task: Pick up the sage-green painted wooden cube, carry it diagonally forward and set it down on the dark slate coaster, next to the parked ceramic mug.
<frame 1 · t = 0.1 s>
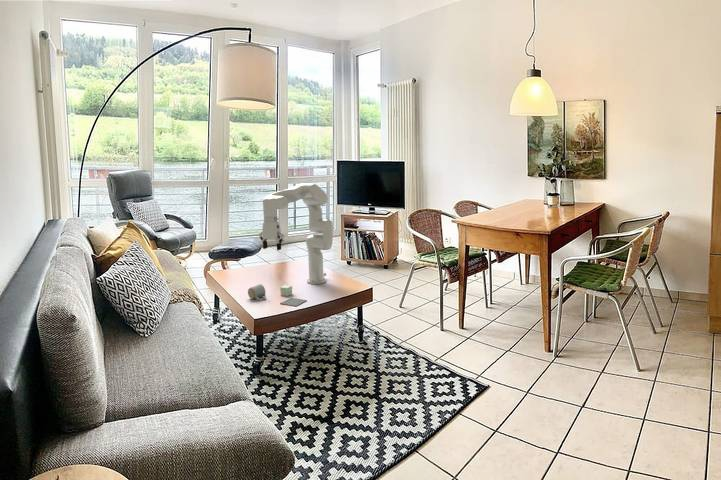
hand: (272, 249, 269), 31 cm above the table, fingers open, 9 cm apart
ceramic mug: (258, 298, 281), on the table
cube: (286, 294, 288), on the table
coaster: (293, 302, 272), on the table
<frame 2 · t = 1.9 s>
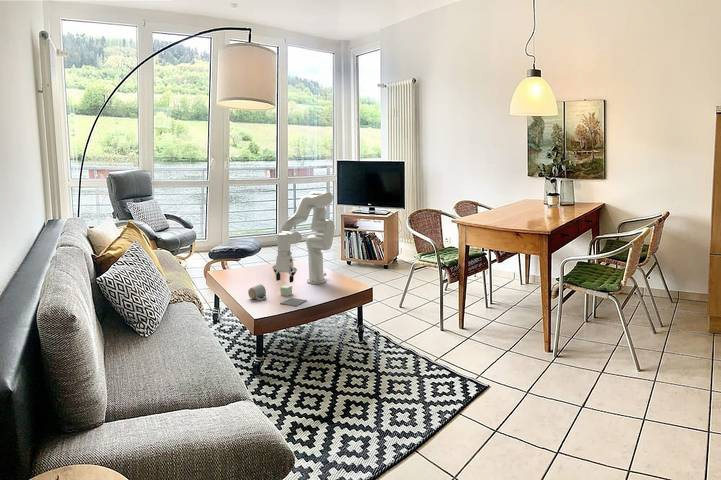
hand: (284, 281, 286), 8 cm above the table, fingers open, 9 cm apart
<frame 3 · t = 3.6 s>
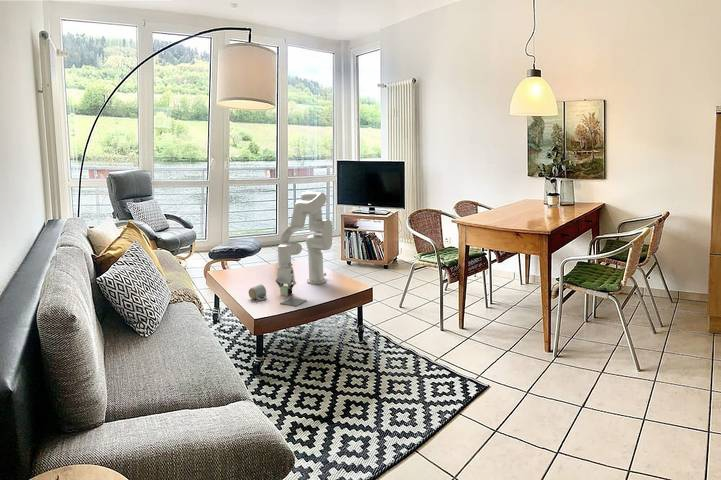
hand: (286, 293, 288), 0 cm above the table, fingers closed on cube, 5 cm apart
cube: (286, 294, 288), on the table, touching gripper
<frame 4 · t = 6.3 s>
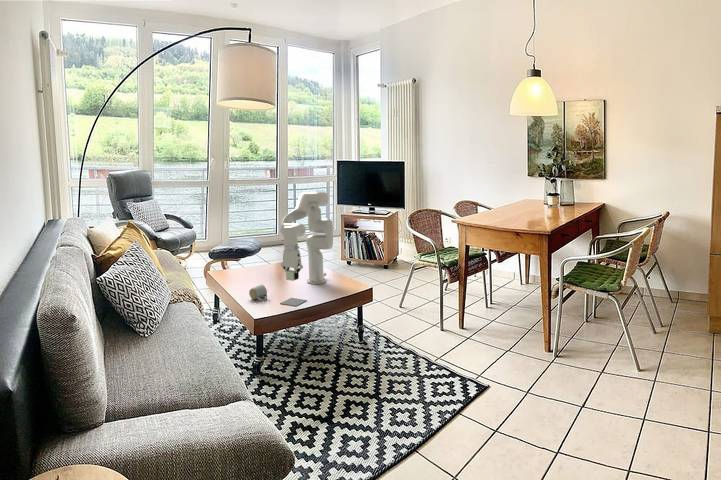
hand: (292, 278, 270), 14 cm above the table, fingers closed on cube, 5 cm apart
cube: (292, 279, 270), point 14 cm above the table, touching gripper
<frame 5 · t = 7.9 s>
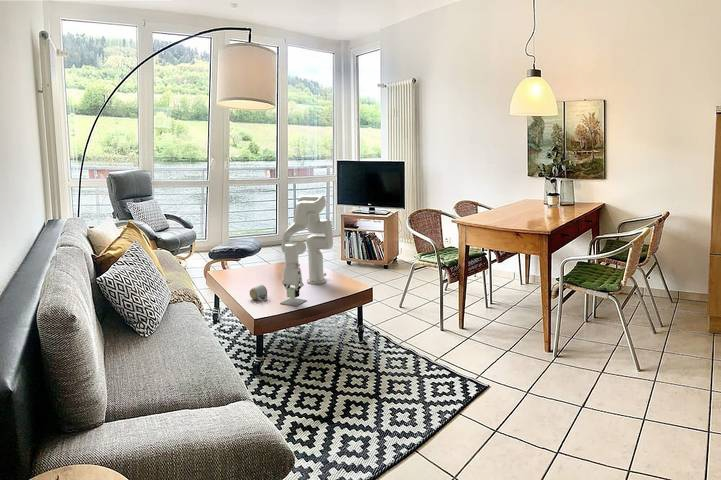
hand: (293, 295, 272), 4 cm above the table, fingers closed on cube, 5 cm apart
cube: (293, 296, 272), point 4 cm above the table, touching gripper
when the fingers open (2 cm above the table, at t = 9.1 s): cube drops 1 cm, resting on coaster.
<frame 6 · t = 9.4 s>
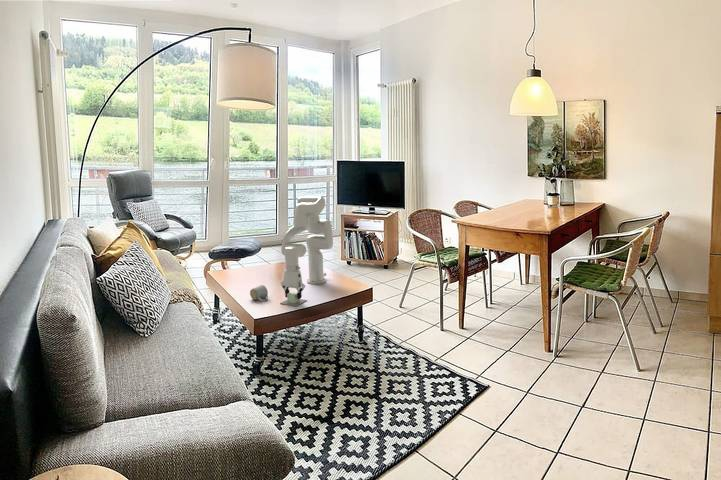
hand: (293, 297, 272), 3 cm above the table, fingers open, 7 cm apart
cube: (293, 301, 272), resting on coaster
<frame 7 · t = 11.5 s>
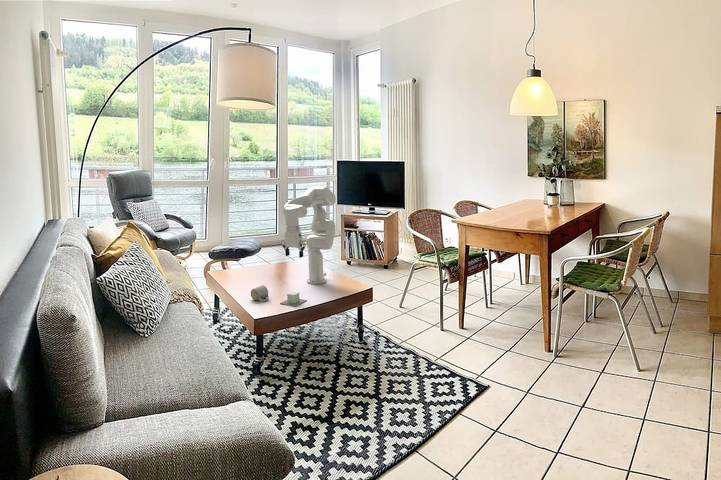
hand: (294, 256, 281), 24 cm above the table, fingers open, 9 cm apart
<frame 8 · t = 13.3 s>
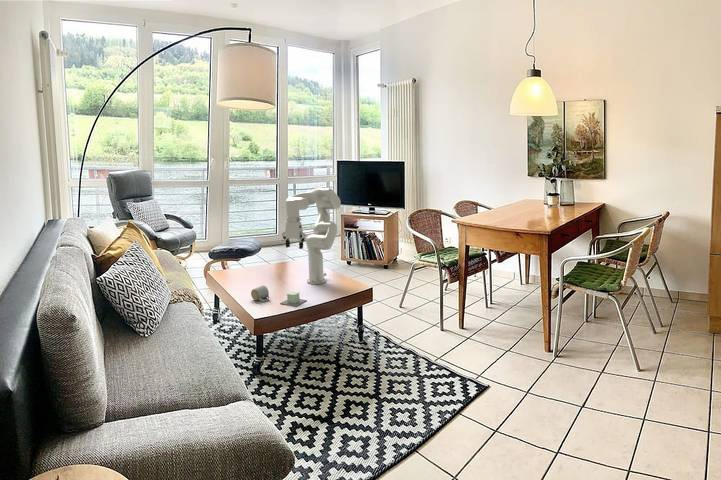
hand: (294, 247, 285), 28 cm above the table, fingers open, 9 cm apart
at the end: cube inside the target area on the coaster (0.0 cm from its centre), point 0.5 cm above the coaster's base; cube tilted 0°; the gripper is holding nothing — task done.
